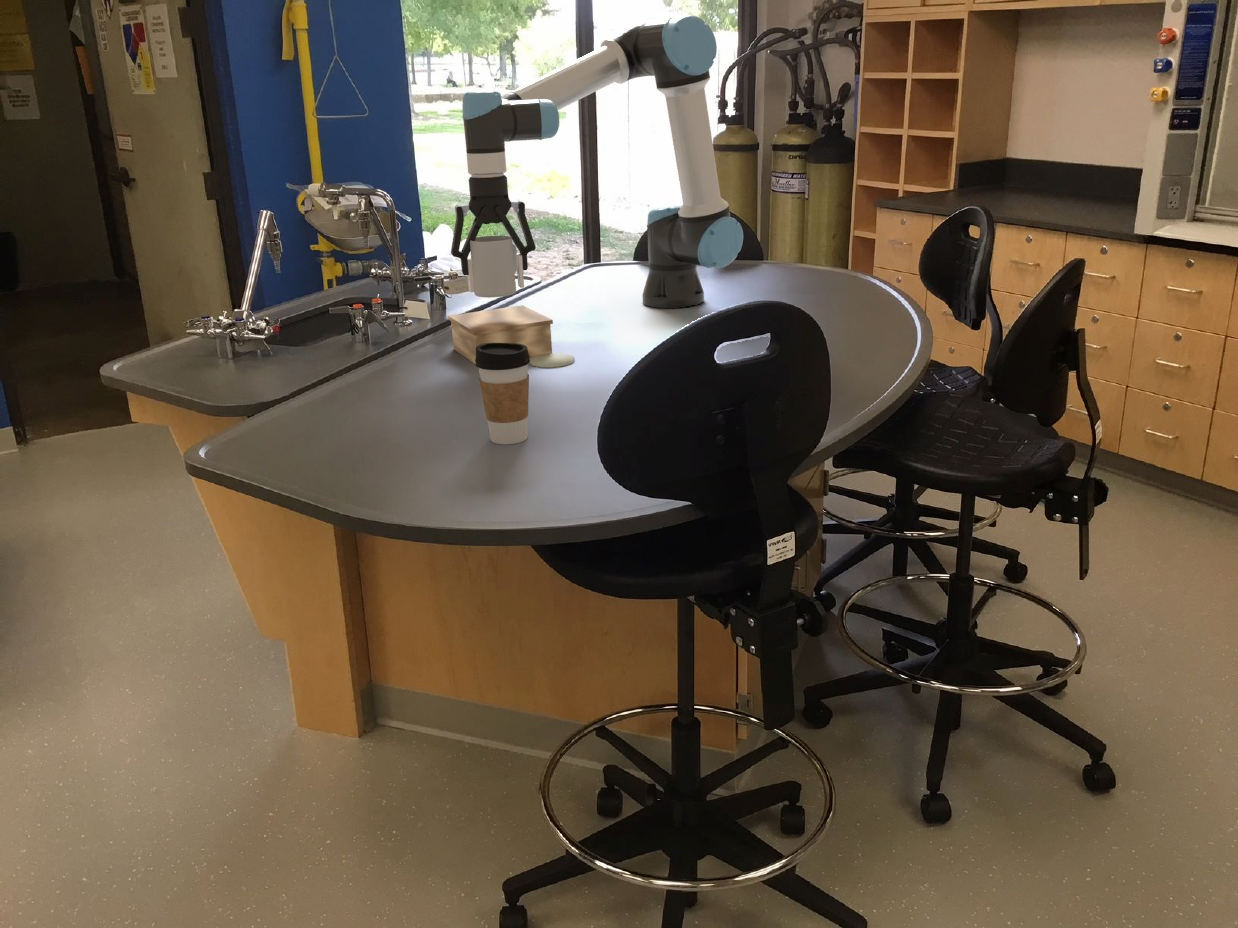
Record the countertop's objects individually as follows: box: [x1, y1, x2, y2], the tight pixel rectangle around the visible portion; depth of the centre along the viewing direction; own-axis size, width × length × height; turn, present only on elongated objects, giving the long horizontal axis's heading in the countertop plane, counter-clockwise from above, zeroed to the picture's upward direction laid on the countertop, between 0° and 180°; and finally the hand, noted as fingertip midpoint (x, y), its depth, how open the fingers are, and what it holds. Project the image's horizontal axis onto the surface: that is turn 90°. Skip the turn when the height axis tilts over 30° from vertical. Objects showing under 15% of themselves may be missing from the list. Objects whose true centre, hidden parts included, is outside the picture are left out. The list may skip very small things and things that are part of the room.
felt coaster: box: [529, 352, 575, 369], centre depth 202 cm, size 9×9×1 cm
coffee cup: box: [474, 343, 531, 446], centre depth 157 cm, size 8×8×15 cm
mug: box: [470, 235, 518, 298], centre depth 204 cm, size 12×8×11 cm
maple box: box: [447, 305, 554, 365], centre depth 210 cm, size 17×17×7 cm
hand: (496, 288), depth 206 cm, fingers closed on mug, 9 cm apart
